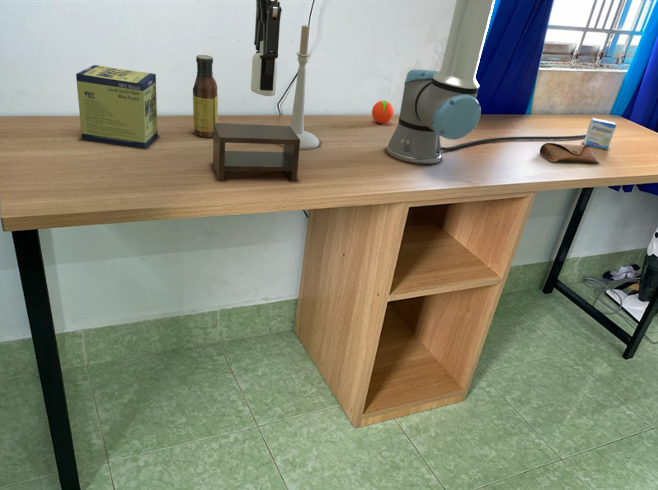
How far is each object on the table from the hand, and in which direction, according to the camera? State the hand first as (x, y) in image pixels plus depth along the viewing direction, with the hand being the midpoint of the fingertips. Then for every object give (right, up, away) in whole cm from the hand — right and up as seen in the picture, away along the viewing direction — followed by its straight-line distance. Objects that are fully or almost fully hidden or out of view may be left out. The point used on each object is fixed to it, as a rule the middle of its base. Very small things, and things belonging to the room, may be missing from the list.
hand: (263, 86), depth 135 cm
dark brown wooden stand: (-4, -17, +10) cm, 20 cm away
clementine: (+28, +9, +62) cm, 68 cm away
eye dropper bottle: (0, -2, +1) cm, 2 cm away
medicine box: (+102, +6, +76) cm, 127 cm away
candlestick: (+3, -3, +34) cm, 35 cm away
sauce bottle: (-20, -3, +28) cm, 35 cm away
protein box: (-38, -7, +17) cm, 42 cm away
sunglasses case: (+87, -3, +58) cm, 104 cm away
